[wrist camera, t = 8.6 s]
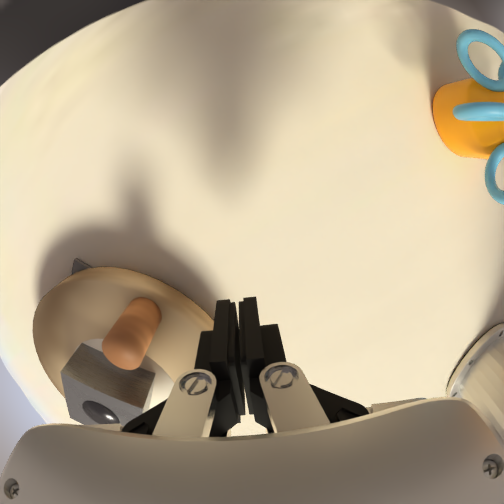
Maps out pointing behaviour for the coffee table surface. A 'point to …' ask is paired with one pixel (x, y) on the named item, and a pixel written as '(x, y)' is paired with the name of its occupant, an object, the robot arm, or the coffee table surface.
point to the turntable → (120, 325)
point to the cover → (104, 389)
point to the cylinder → (474, 111)
